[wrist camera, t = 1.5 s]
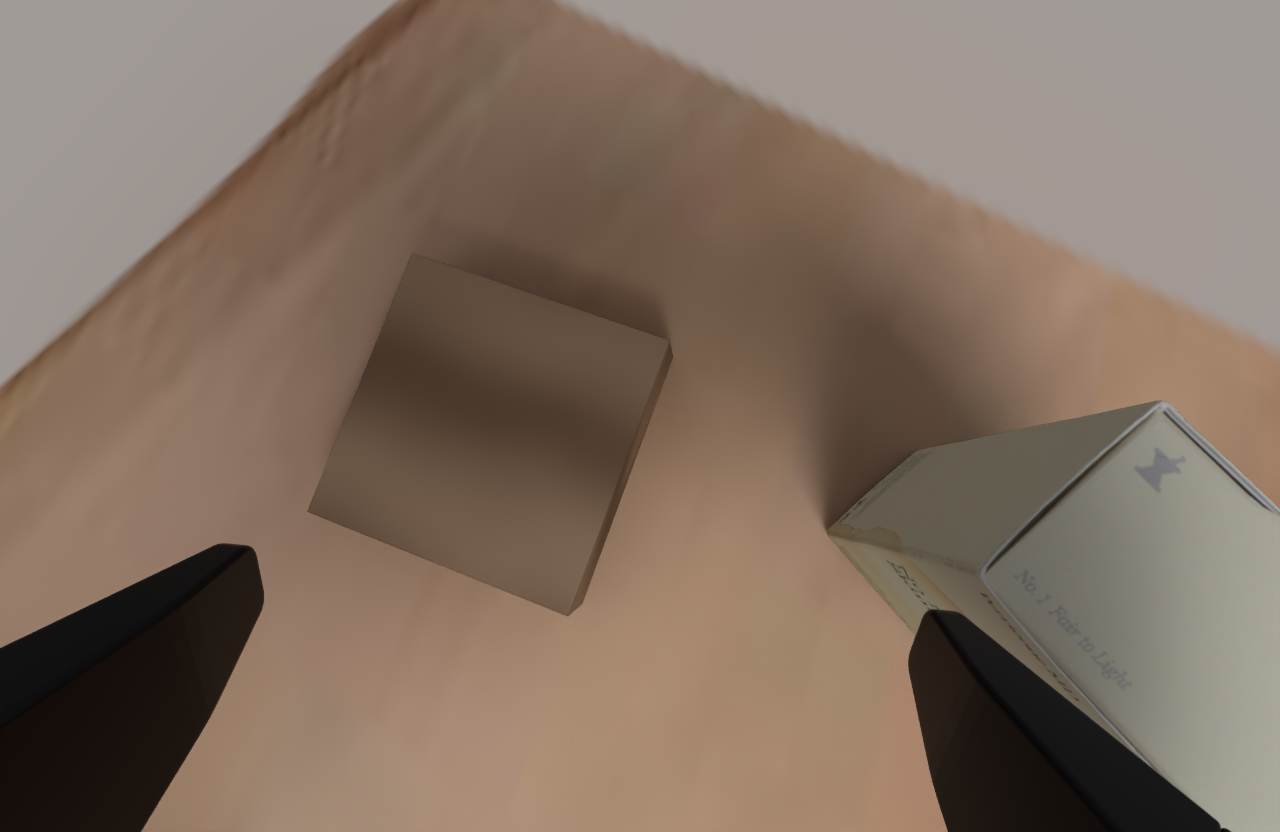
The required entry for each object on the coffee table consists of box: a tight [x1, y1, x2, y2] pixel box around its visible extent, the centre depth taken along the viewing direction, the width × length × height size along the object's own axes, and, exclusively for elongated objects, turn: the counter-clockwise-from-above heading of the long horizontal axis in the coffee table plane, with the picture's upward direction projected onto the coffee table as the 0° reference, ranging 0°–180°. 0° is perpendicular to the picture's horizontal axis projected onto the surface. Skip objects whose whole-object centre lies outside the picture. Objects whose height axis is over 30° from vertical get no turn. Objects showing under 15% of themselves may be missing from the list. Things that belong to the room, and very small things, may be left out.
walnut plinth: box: [307, 253, 673, 616], centre depth 23 cm, size 9×9×2 cm
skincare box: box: [827, 400, 1280, 832], centre depth 17 cm, size 6×4×12 cm
